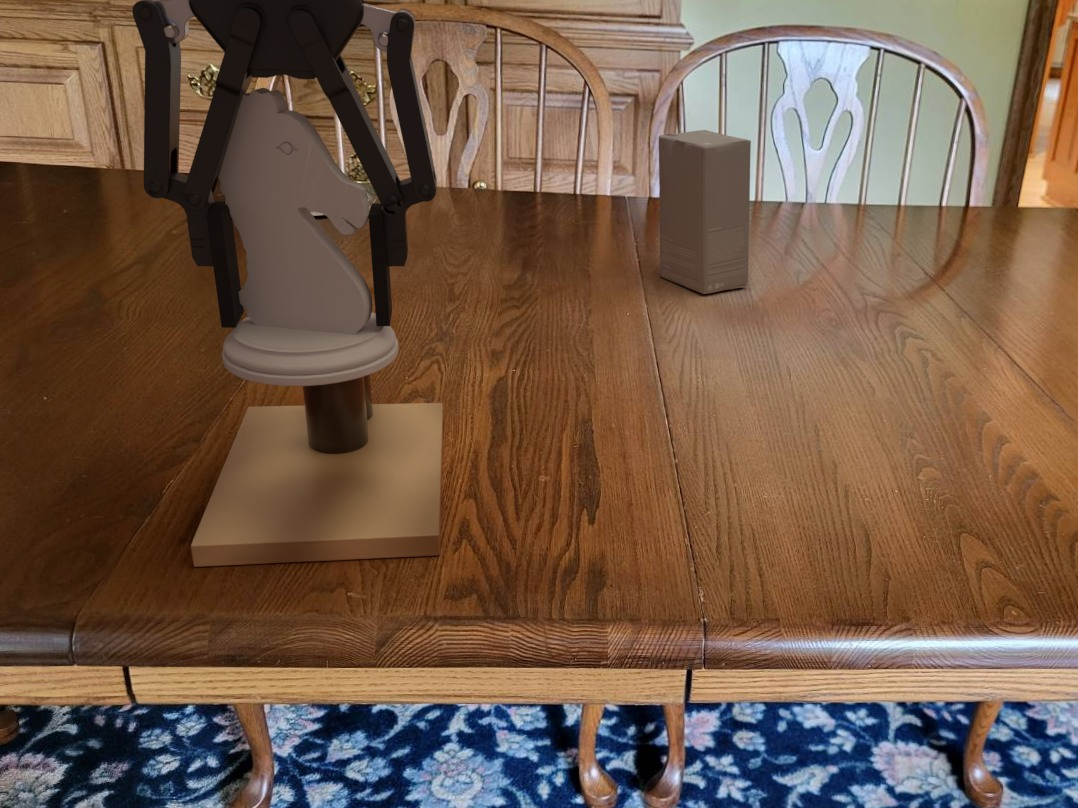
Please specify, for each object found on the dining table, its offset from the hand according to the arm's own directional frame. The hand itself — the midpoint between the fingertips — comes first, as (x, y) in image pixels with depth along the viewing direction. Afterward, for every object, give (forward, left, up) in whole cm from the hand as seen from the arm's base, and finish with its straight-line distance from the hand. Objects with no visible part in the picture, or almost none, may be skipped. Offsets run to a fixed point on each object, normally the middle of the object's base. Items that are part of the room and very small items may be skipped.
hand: (309, 318), depth 64 cm
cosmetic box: (+34, +50, -14) cm, 62 cm away
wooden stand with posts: (0, +5, -13) cm, 14 cm away
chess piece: (0, 0, -2) cm, 2 cm away
